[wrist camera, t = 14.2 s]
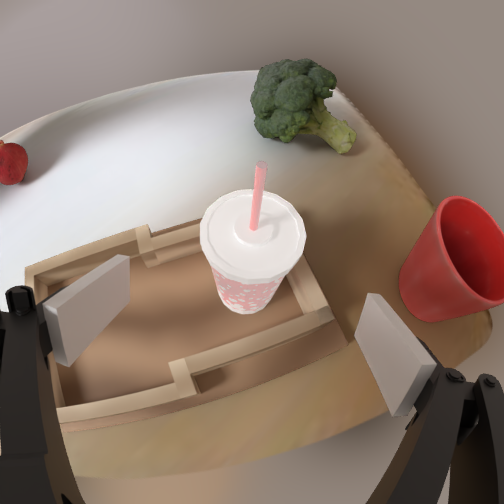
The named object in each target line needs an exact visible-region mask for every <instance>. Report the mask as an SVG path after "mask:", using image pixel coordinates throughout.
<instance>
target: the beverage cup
mask: <svg viewBox="0 0 504 504" xmlns="http://www.w3.org/2000/svg"><path fill="white" fill-rule="evenodd" d="M266 172H267V163H266V162H263V161H259V162H257V164H256V172H255V181H254V189H248V190H237V191H234V192H231V193H229V194H226V195H223V196H221V197H220V198H218V199H217V200H216V201H215V202H214V203H213V204H211V205H210V206H209V207H208V208H207V210H206V212H205V214H204V216H203V218H202V220H201V222H200V244H201V246H202V250H203V252H204V254H205V256H206V258H207V260H208V262H209V264H210V265H211V268H212V272H213V275H214V279H215V283H216V286H217V290H218V293H219V296H220V298H221V300H222V302H223V303H224V305H225V306H227V307H228V308H229V309H230V310H232V311H234V312H237V313H240V314H253V313H256V312H258V311H260V310H262V309H263V308H264V307H265V306H266V305H267V304H268V302H269V301H270V300H271V298H272V296H273V295H274V293H275V291H276V290H277V288H278V286H279V285H280V283H281V281H282V280H283V278H284V276H285V275H286V274H288V272H289V271H290V270H291V269H292V268H293V266H294V265H295V264H296V263H297V262H298V260H299V258H300V257H301V256H302V253H303V249H304V245H305V240H306V232H305V227H304V223H303V219H302V218H301V216H300V215H299V214H298V212H297V211H296V210H295V208H294V207H293V206H292V204H290V203H289V202H287V201H286V200H284V199H283V198H281V197H280V196H278V195H277V194H274V193H270V192H266V191H264V185H265V178H266Z"/></svg>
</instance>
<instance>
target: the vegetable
mask: <svg viewBox="0 0 504 504" xmlns="http://www.w3.org/2000/svg"><path fill="white" fill-rule="evenodd" d="M336 82H337V80H336V77H335V75H334V74H333V73H332V72H330V71H328V70H326V69H325V68H323V67H321V66H320V65H318V64H317V63H315V62H313V61H312V60H310V59H301V60H298V61H292V60H289V59H286V60H282V61H280V62H276V63H273V64H270V65H266V66H265V67H262V68H261V69H260V71H259V73H258V76H257V81H256V82H255V86H254V89H255V90H254V91H253V93H252V95H251V100H250V101H251V103H252V107H253V108H254V114H255V115H256V118H255V120H254V122H255V124H254V125H255V127H256V129H257V131H258V132H259V133H260V134H261V135H262V136H263V137H264V138H275V137H279V138H280V140H281V141H283V142H284V143H289V142H290V141H291V140H292V139H293V138H294V137H295V136H296V135H297V134H298V133H300V134H312V135H318V136H319V137H320V138H322V139H323V140H325V141H326V142H327V143H328V144H329V145H330V146H331V147H332V148H333V149H334V150H336V151H337V152H338V153H339V154H343V153H347V152H348V151H349V150H350V149H351V147H352V145H353V144H354V142H355V140H356V136H357V134H356V133H355V131H354V130H353V129H351V128H350V127H349V126H348V124H347V122H346V120H345V121H342V122H341V121H339V120H338V119H336V118H334V117H333V116H332V115H331V113H330V112H328V111H327V107H326V106H325V105H324V99H326V98H329V97H332V93H333V91H329V89H331V90H333V89H335V87H336Z"/></svg>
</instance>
